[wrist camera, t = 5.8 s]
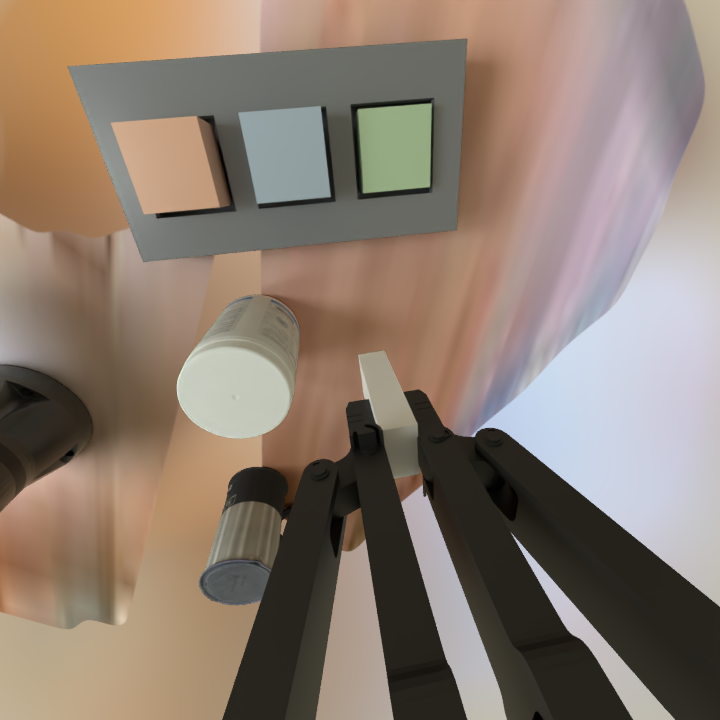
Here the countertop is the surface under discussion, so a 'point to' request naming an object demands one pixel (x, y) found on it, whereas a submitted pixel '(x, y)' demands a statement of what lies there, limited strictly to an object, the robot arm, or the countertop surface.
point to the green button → (393, 147)
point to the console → (285, 91)
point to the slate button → (286, 154)
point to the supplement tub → (243, 369)
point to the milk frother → (246, 537)
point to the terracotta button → (173, 164)
